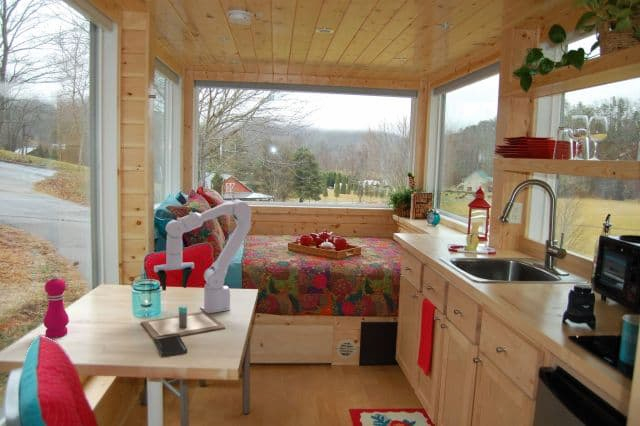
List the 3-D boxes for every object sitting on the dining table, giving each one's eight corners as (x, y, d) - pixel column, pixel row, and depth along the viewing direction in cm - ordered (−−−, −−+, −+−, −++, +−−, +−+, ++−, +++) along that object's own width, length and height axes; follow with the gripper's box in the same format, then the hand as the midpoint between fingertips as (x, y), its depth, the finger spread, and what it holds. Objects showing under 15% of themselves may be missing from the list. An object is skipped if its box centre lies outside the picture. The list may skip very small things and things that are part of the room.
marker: (184, 325, 169) (184, 305, 168) (188, 327, 167) (188, 307, 166) (177, 326, 167) (177, 307, 166) (181, 329, 165) (181, 309, 165)
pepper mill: (73, 333, 160) (72, 274, 157) (52, 340, 154) (50, 278, 151) (60, 328, 163) (59, 270, 161) (39, 335, 157) (37, 274, 155)
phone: (178, 333, 162) (188, 350, 148) (178, 337, 162) (188, 354, 148) (153, 336, 158) (161, 354, 145) (153, 340, 158) (161, 358, 145)
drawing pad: (206, 313, 185) (206, 311, 185) (225, 328, 170) (225, 326, 170) (140, 323, 171) (140, 321, 171) (155, 341, 156) (155, 338, 156)
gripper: (189, 249, 188) (189, 283, 190) (151, 252, 180) (151, 288, 181) (196, 252, 182) (195, 288, 184) (157, 256, 174) (157, 293, 176)
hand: (174, 288), depth 182 cm, fingers open, 7 cm apart
